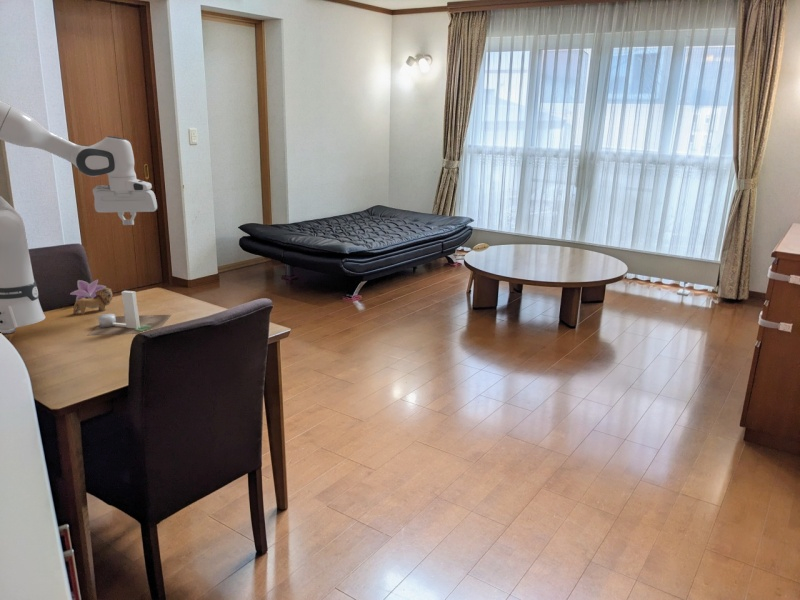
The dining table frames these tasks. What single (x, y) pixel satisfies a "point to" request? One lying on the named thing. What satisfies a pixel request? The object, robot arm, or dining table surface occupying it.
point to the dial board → (145, 324)
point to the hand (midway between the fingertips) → (128, 224)
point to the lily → (87, 289)
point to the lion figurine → (94, 301)
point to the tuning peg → (129, 311)
